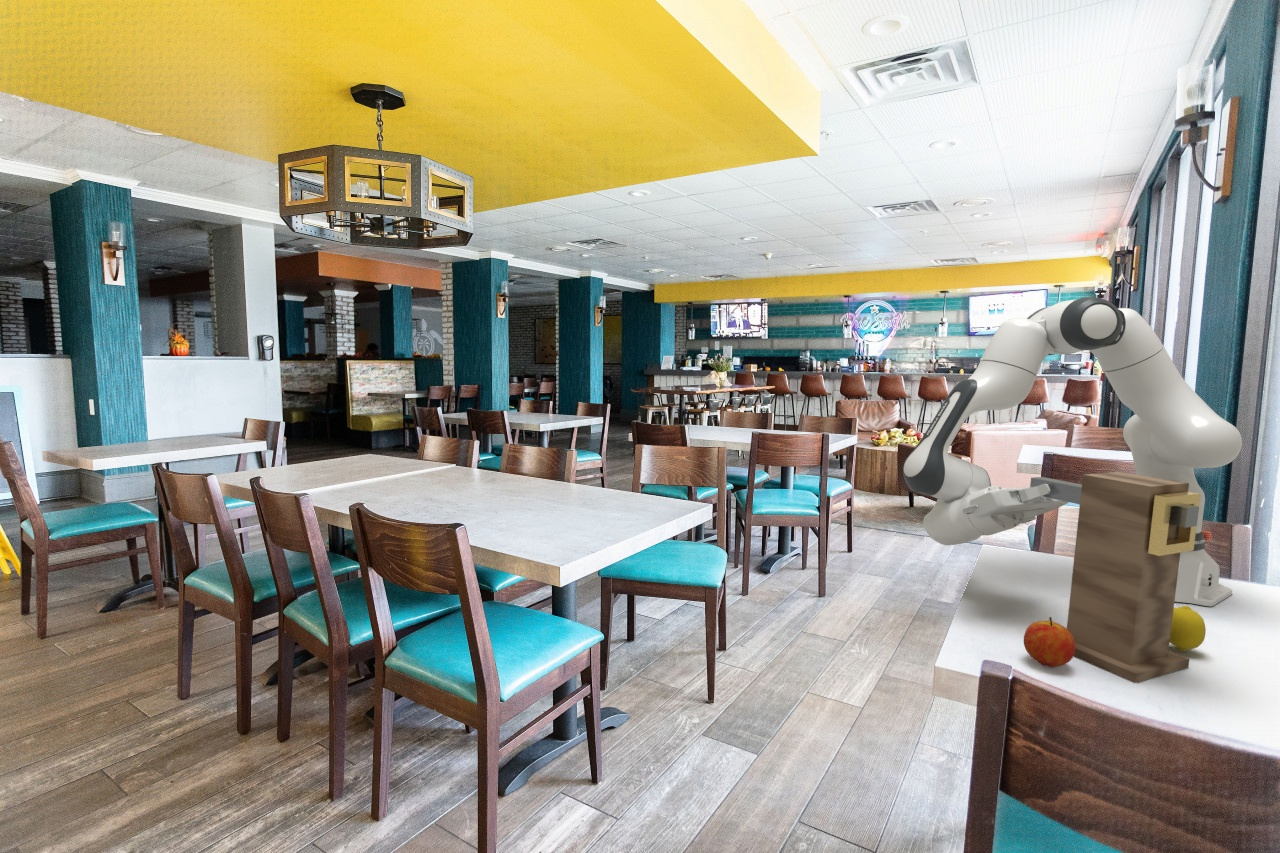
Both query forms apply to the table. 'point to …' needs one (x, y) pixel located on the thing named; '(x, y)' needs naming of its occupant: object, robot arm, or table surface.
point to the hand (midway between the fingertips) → (1058, 487)
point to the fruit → (1049, 643)
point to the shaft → (1072, 494)
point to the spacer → (1161, 524)
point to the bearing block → (1123, 578)
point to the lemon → (1187, 629)
